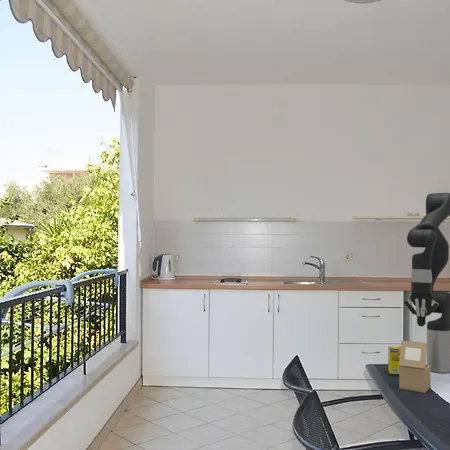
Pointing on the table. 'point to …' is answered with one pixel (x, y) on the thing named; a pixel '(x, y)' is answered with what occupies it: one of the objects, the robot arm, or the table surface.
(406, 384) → the carton
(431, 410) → the table surface
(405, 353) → the flap
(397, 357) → the supplement box
